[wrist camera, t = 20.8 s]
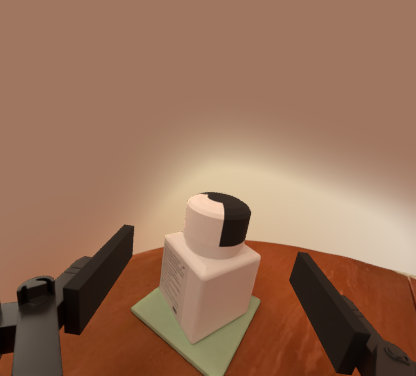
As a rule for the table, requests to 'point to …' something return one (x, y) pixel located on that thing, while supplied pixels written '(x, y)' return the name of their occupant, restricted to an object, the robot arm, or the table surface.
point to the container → (209, 265)
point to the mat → (202, 350)
